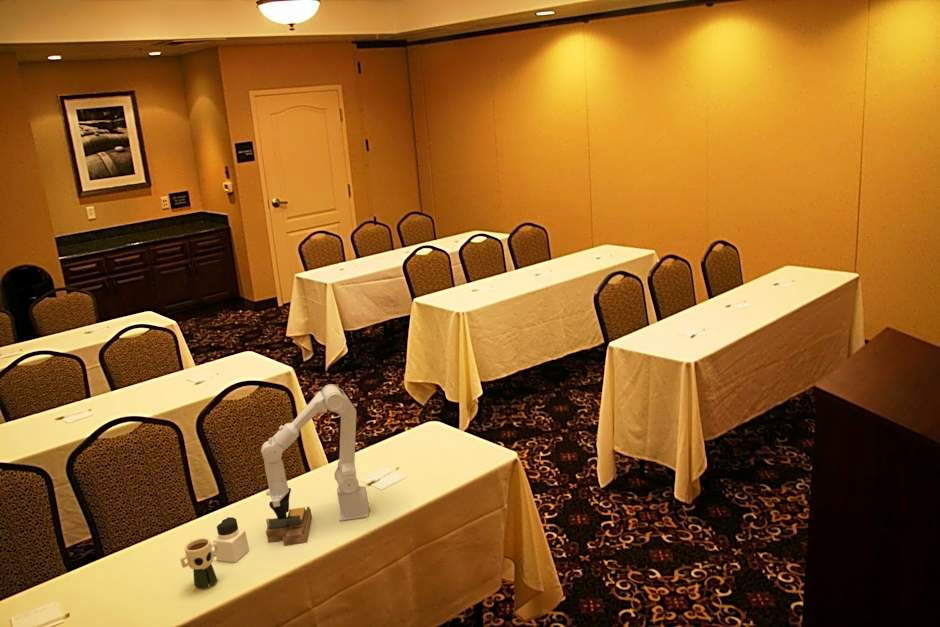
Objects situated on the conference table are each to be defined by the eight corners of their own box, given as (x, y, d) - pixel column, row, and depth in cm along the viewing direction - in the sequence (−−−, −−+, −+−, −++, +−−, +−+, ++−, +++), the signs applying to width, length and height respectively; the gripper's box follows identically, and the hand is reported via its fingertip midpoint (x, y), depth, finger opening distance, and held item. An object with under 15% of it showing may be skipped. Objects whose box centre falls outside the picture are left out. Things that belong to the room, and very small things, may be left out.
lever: (301, 523, 246) (299, 514, 245) (300, 524, 245) (299, 516, 244) (268, 527, 246) (266, 518, 245) (267, 529, 244) (265, 520, 244)
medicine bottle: (249, 550, 242) (242, 515, 239) (236, 562, 235) (228, 527, 232) (230, 548, 244) (223, 514, 241) (216, 561, 238) (208, 526, 235)
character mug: (193, 597, 220) (183, 556, 217) (183, 588, 225) (174, 548, 222) (229, 579, 226) (220, 540, 223) (219, 571, 232) (210, 532, 229)
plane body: (312, 517, 257) (309, 506, 256) (306, 542, 242) (304, 530, 241) (274, 523, 257) (271, 512, 256) (266, 548, 241) (264, 537, 240)
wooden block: (305, 512, 255) (304, 507, 254) (303, 524, 247) (302, 519, 246) (292, 514, 254) (291, 509, 254) (289, 526, 247) (288, 521, 246)
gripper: (267, 469, 252) (275, 507, 256) (259, 490, 238) (268, 529, 242) (289, 466, 253) (296, 504, 256) (282, 486, 239) (290, 526, 242)
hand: (284, 516), depth 249 cm, fingers open, 5 cm apart
